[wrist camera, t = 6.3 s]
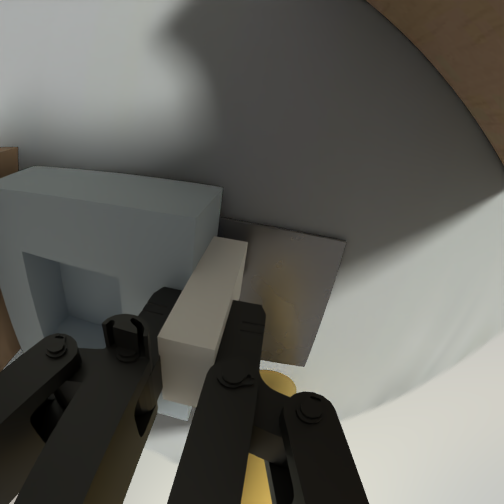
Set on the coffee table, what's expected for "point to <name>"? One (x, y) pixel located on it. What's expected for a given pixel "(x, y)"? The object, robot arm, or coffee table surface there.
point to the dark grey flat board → (286, 284)
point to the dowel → (256, 482)
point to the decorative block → (460, 51)
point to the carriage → (97, 249)
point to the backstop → (3, 335)
